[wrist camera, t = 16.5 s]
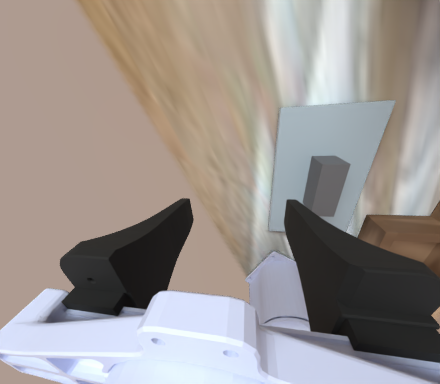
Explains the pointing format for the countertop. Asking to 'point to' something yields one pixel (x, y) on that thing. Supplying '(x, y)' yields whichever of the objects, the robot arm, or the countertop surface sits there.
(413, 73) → the countertop surface
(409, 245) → the brown angular frame
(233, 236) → the countertop surface
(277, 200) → the lid
